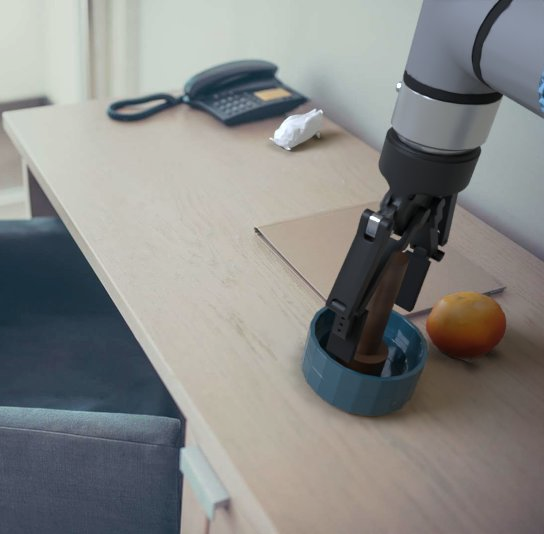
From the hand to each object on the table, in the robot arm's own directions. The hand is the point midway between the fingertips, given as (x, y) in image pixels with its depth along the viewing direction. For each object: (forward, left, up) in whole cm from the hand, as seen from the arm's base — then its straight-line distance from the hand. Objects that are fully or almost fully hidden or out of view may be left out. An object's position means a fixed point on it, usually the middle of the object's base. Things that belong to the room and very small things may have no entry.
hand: (371, 328), depth 67 cm
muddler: (0, 0, -7) cm, 7 cm away
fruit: (-5, -14, -7) cm, 16 cm away
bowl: (0, 0, -7) cm, 7 cm away
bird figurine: (+39, -41, -7) cm, 57 cm away
